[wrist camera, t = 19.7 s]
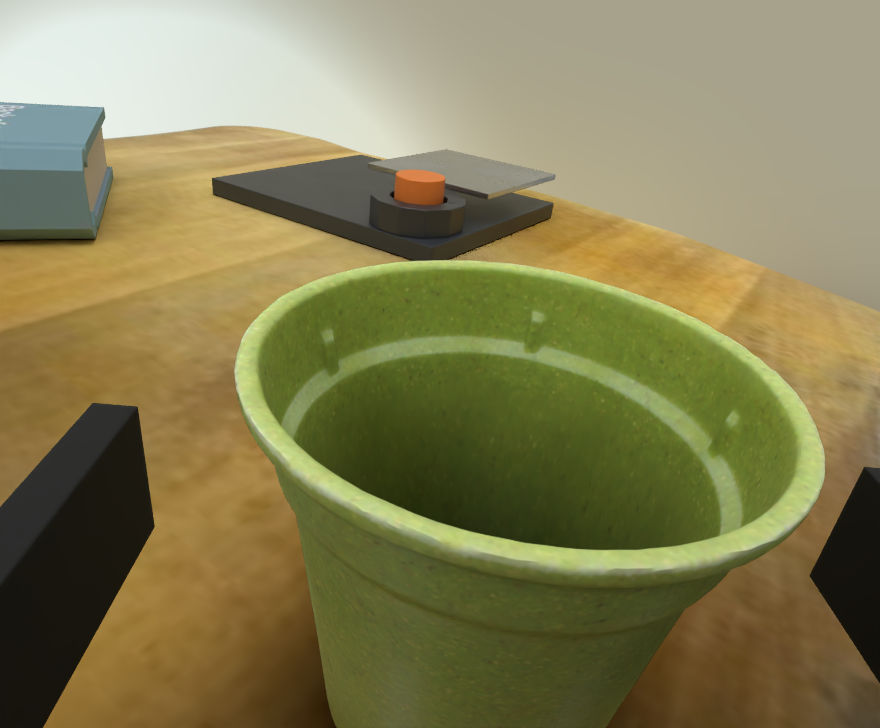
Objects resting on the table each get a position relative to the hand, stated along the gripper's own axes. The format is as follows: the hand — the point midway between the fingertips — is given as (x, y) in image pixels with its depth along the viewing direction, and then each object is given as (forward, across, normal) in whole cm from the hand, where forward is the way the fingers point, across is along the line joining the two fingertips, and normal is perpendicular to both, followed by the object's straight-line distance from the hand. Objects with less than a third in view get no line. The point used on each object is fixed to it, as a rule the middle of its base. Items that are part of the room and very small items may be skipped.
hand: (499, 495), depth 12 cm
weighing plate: (+41, -1, +3) cm, 41 cm away
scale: (+41, +5, +6) cm, 42 cm away
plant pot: (0, 0, +6) cm, 6 cm away
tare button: (+33, +2, +3) cm, 33 cm away
